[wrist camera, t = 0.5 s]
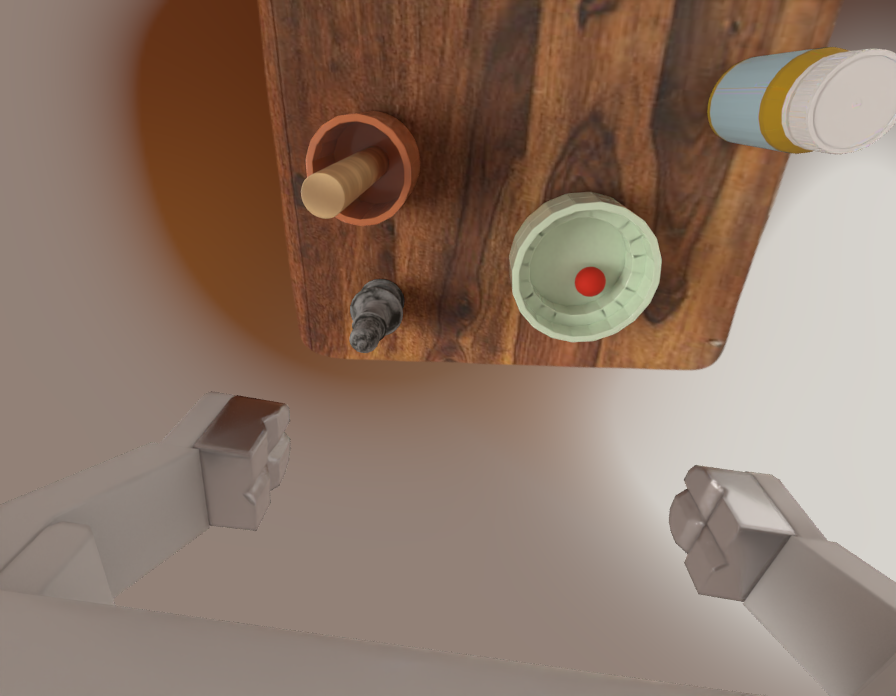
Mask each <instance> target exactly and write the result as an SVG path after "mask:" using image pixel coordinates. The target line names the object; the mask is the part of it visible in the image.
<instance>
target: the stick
mask: <svg viewBox="0 0 896 696" xmlns="http://www.w3.org/2000/svg"><path fill="white" fill-rule="evenodd" d="M388 167H389V160H388V157H387V155H386V153H385V152H384V151H383V150H382V149H380V148H379V147H375V146H370V147H367V148H365V149H363V150H361V151H359V152H357V153H355V154H353V155H351V156H349V157H347V158H345V159H343V160H340V161H338V162H336V163H334V164H332V165H330V166H328V167H326V168H324V169H322V170H320V171H318V172H316V173H314V174H312V175H310V176H309V177H307V178H306V179H305V181H304V182H303V185H302V189H301V197H302V200H303V203H304V205H305V207H306V208H307V209H308V210H309V211H310V212H311V213H312V214H313V215H315V216H317V217H320V218H326V219H327V218H333V217H335V216H337V215H338V214H339V213H340V212H342V211H343V210H344V209H345V208H346V207H347V206H349V205H350V204H351V203H352V202H353V201H354V200H355V199H357V198H358V197H359V196H360V195H361V194H362V193H364V192H365V191H366V190H367V189H368V188H369V187H370V186H372V185H373V184H374V183H375V182H376V181H377V180H379V179H380V178H381V177H382V176H383V175H384V174H385V173H386V172H387V170H388Z"/></svg>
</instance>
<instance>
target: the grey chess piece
mask: <svg viewBox="0 0 896 696" xmlns="http://www.w3.org/2000/svg"><path fill="white" fill-rule="evenodd" d="M403 307H404V296H403V293H402V291H401V290H400V288H399V287H398V286H397V285H396V284H394V283H393V282H391V281H388V280H385V279H375V280H372V281H370V282H368V283H367V284H366V285H365V286H364V287H363V288H362V290H361V291H360V292H359V293H357V294H356V296H355V297H354V298H353V300H352V303H351V305H350V313H351V317H352V320H353V323H352V328H353V330H352V332H351V334H350V344H351V346H352V347H353V348H354V349H355V350H356V351H358V352H361V353H368V352H371V351H373V350H374V349H375V348H376V347H377V345H378V342H379V341H380V340H381V339H383V337H384V336H385V335H388V334H391V333H392V332H394V331H395V330H396V329H397V328H398V327H399V326H400V323H401V321H402V317H403V311H402V310H403Z"/></svg>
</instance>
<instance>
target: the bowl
mask: <svg viewBox="0 0 896 696" xmlns="http://www.w3.org/2000/svg"><path fill="white" fill-rule="evenodd" d="M661 265H662V258H661V254H660V250H659V245H658V241H657V238H656V237H655V235H654V234H653V232H652V231H651V229H650V228H649V227H648V225H647V224H646V222H645V221H644V220H643V219H642V218H640V217H639V216H638V215H636V214H635V213H634V212H632V211H631V210H630V209H628V208H627V207H625V206H624V205H622V204H621V203H619V202H618V201H616V200H615V199H614V198H612V197H609V196H605V195H601V194H597V193H593V192H581V193H569V194H565V195H562V196H560V197H557V198H555V199H553V200H550V201H548V202H545V203H544V204H543V205H542V206H540V207H539V208H538V209H537V210H535V211H534V212H533V213H532V214H531V215H529V216H528V218H526V220H525V221H524V223H523V224H522V226H521V227H520V229H519V230H518V232H517V233H516V235H515V237H514V240H513V243H512V247H511V250H510V254H509V276H510V281H511V287H512V292H513V295H514V298H515V301H516V303H517V306H518V308H519V311H520V312H521V314H522V315H523V316H524V317H525V318H526V319H527V321H528V322H529V323H530V324H531V325H532V326H533V327H534V328H536V329H537V330H539V331H541V332H542V333H544V334H546V335H548V336H549V337H551V338H555V339H560V340H564V341H569V342H585V341H593V340H594V341H595V340H598V339H601V338H604V337H607V336H610V335H613V334H615V333H617V332H618V331H620V330H622V329H623V328H625V327H626V326H628V325H629V324H631V323H632V322H634V321H635V320H636V319H637V317H638V316H639V315H640V314H641V313H642V312H643V311H644V309H645V308H646V307H647V306H648V305H649V304H650V302H651V300H652V298H653V296H654V293H655V291H656V289H657V287H658V285H659V281H660V273H661ZM586 267H596V268H598V269H600V270H601V271H602V272H603V273H604V275H605V278H606V284H605V287H604V289H603V291H602V292H601V293H599V294H598V295H596V296H593V297H587V296H583V295H582V294H580V293H579V292H578V291H577V289H576V287H575V278H576V275H577V274H578V272H579V271H580V270H582V269H583V268H586Z"/></svg>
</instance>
